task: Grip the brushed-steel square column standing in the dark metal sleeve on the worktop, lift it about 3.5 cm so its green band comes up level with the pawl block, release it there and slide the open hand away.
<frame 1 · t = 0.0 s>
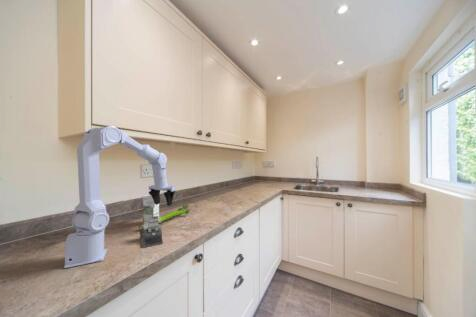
hand: (163, 204, 89), 11 cm above the counter, tool pointing down, fingers open, 7 cm apart
stand: (153, 238, 75), on the counter
syrup box: (151, 223, 93), on the counter, touching leek
leek: (168, 221, 96), on the counter, touching syrup box
column: (153, 227, 75), point 5 cm above the counter, slide at 0.0 cm
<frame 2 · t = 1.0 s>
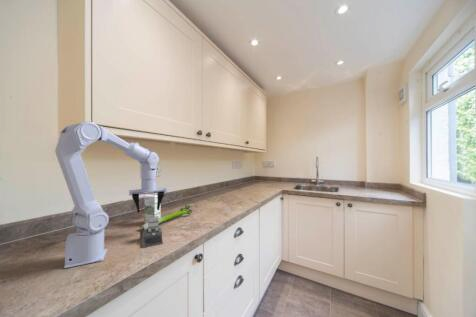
hand: (148, 210, 79), 10 cm above the counter, tool pointing down, fingers open, 7 cm apart
leek: (170, 222, 96), on the counter, touching stand, syrup box
everything else where it was.
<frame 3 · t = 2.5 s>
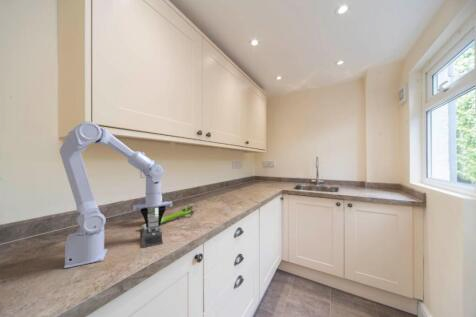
hand: (153, 225, 75), 5 cm above the counter, tool pointing down, fingers closed on column, 4 cm apart
leek: (171, 222, 95), on the counter, touching syrup box
column: (153, 227, 75), point 5 cm above the counter, slide at 0.0 cm, touching gripper
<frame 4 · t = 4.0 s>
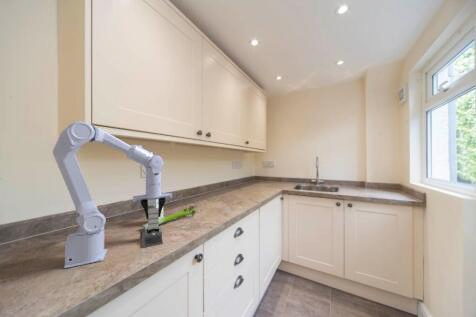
hand: (153, 217, 75), 9 cm above the counter, tool pointing down, fingers closed on column, 4 cm apart
syrup box: (155, 223, 94), on the counter, touching leek
column: (153, 218, 75), point 8 cm above the counter, slide at 3.5 cm, touching gripper
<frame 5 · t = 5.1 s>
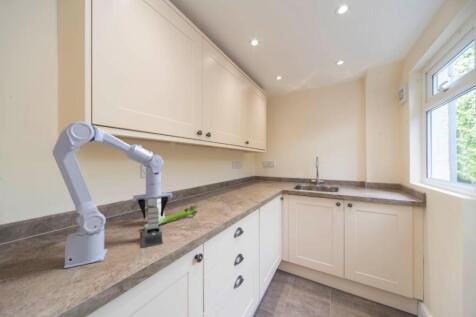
hand: (153, 216, 75), 9 cm above the counter, tool pointing down, fingers open, 6 cm apart
column: (153, 218, 75), point 8 cm above the counter, slide at 3.6 cm
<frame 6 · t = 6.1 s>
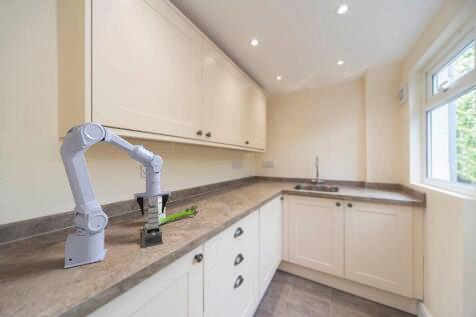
hand: (153, 213, 79), 9 cm above the counter, tool pointing down, fingers open, 7 cm apart
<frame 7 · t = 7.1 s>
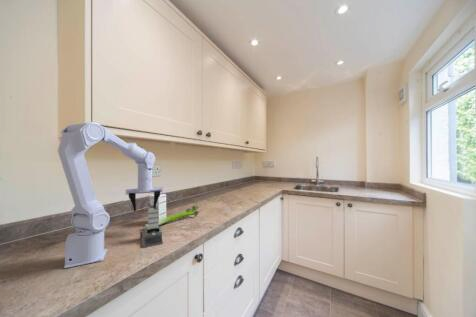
hand: (144, 209, 81), 10 cm above the counter, tool pointing down, fingers open, 7 cm apart
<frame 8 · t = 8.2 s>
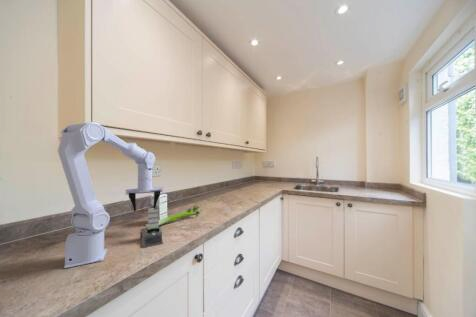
hand: (144, 209, 81), 10 cm above the counter, tool pointing down, fingers open, 7 cm apart
syrup box: (159, 223, 94), on the counter, touching leek
at the end: column slide at 3.6 cm; the gripper is holding nothing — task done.
